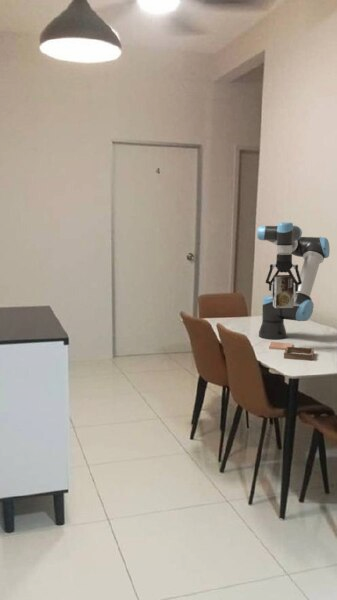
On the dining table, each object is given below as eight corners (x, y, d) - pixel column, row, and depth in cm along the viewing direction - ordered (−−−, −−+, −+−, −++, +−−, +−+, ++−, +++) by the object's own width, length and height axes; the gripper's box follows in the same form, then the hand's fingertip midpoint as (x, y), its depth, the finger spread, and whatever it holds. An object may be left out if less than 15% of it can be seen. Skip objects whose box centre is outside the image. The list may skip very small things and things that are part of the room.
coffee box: (289, 305, 265) (291, 274, 262) (293, 308, 259) (294, 276, 256) (272, 306, 265) (273, 274, 262) (275, 308, 258) (276, 276, 256)
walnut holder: (286, 351, 256) (286, 346, 255) (313, 353, 252) (313, 348, 252) (283, 358, 244) (284, 353, 243) (312, 360, 240) (312, 355, 239)
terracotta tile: (271, 343, 272) (271, 341, 272) (292, 345, 268) (292, 343, 268) (268, 348, 261) (268, 346, 261) (291, 350, 258) (291, 348, 258)
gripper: (260, 254, 257) (259, 297, 261) (307, 254, 250) (306, 299, 254) (262, 252, 264) (261, 295, 268) (308, 253, 257) (306, 297, 261)
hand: (283, 297), depth 261 cm, fingers closed on coffee box, 10 cm apart
